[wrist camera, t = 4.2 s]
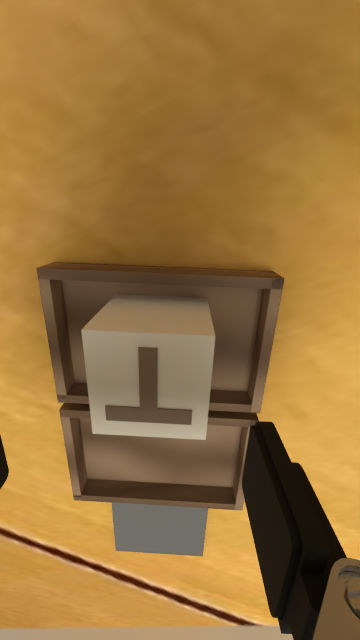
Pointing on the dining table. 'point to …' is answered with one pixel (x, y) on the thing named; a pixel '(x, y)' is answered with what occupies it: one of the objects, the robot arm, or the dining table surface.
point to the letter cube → (150, 366)
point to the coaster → (159, 528)
